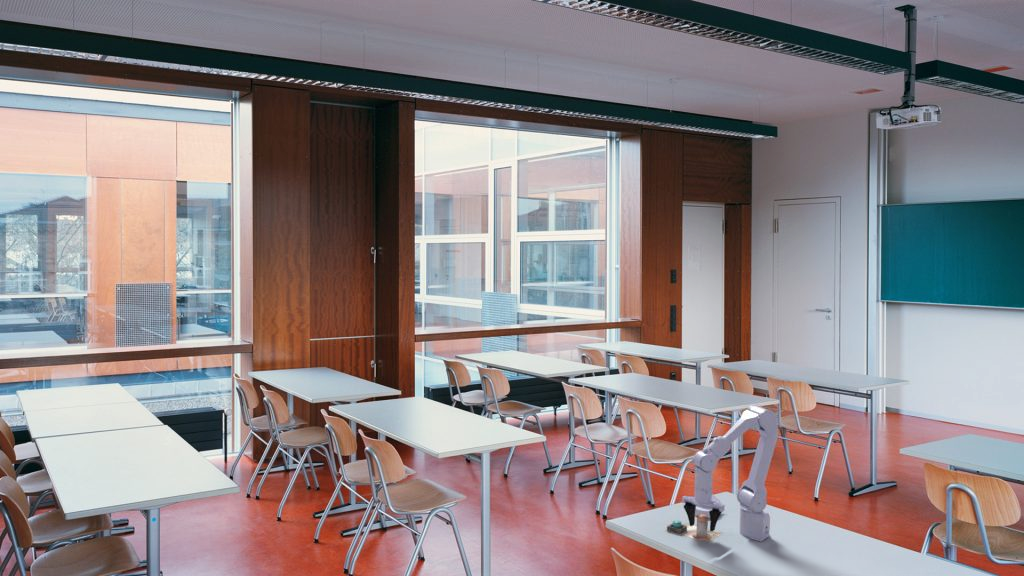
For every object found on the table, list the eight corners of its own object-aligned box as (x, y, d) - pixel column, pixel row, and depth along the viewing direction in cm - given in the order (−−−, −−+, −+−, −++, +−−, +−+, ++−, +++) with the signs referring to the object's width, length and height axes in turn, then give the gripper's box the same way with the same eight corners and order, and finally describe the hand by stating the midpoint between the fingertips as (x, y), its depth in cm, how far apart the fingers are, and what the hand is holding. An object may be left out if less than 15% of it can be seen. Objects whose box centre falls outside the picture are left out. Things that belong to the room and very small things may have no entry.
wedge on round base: (697, 507, 301) (689, 517, 290) (698, 490, 301) (690, 499, 289) (721, 511, 298) (714, 521, 286) (722, 493, 297) (715, 503, 285)
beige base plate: (727, 534, 273) (727, 528, 272) (709, 546, 262) (710, 539, 262) (679, 522, 284) (679, 516, 284) (660, 532, 273) (661, 526, 273)
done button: (683, 527, 274) (683, 521, 274) (678, 529, 271) (679, 524, 271) (675, 525, 276) (675, 519, 276) (671, 527, 273) (671, 522, 273)
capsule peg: (709, 535, 269) (709, 515, 268) (704, 538, 266) (705, 518, 265) (698, 533, 271) (699, 513, 270) (694, 536, 268) (695, 516, 268)
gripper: (678, 486, 269) (677, 525, 270) (718, 495, 260) (717, 536, 260) (687, 481, 274) (686, 520, 275) (727, 490, 265) (726, 530, 266)
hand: (702, 527), depth 268 cm, fingers open, 7 cm apart
